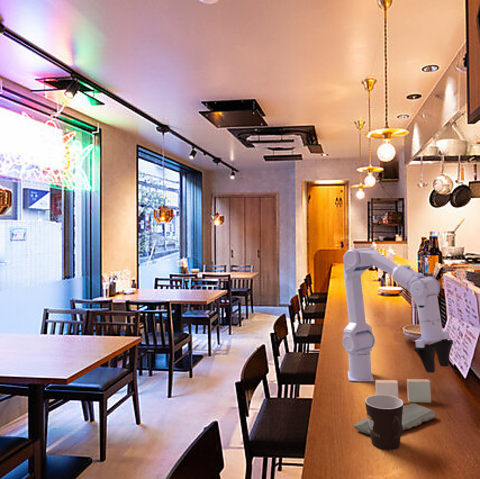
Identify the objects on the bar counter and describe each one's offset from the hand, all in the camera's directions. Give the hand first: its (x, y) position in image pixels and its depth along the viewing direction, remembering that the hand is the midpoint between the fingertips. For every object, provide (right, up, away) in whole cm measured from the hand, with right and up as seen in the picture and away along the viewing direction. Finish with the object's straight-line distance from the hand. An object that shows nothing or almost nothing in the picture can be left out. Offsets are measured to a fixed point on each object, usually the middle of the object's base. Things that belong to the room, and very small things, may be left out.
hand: (437, 369), depth 124 cm
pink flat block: (-3, -11, +4) cm, 12 cm away
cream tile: (-12, -11, +5) cm, 17 cm away
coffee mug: (-21, -12, -21) cm, 32 cm away
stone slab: (-15, -11, -10) cm, 21 cm away
